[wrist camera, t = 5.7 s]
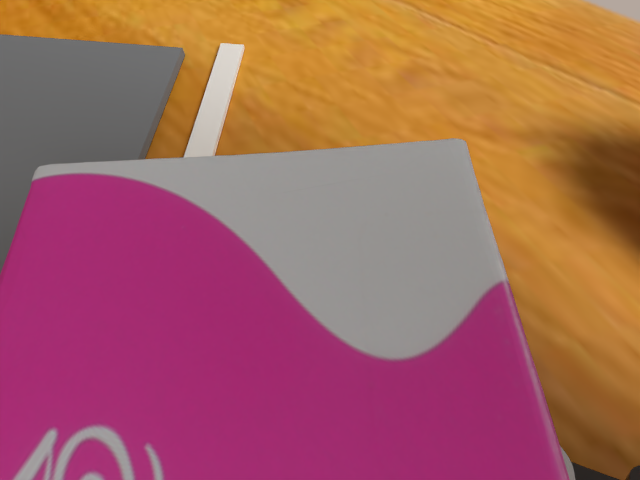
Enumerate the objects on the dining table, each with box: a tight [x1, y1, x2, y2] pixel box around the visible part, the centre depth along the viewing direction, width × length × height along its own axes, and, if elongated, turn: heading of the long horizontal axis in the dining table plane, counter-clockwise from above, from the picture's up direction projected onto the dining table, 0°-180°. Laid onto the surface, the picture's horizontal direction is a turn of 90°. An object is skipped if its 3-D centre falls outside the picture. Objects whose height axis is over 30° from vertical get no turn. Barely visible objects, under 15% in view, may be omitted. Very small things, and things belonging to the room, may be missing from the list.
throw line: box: [184, 43, 244, 157], centre depth 16 cm, size 2×26×1 cm, turn 175°
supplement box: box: [0, 138, 570, 480], centre depth 8 cm, size 6×6×11 cm
